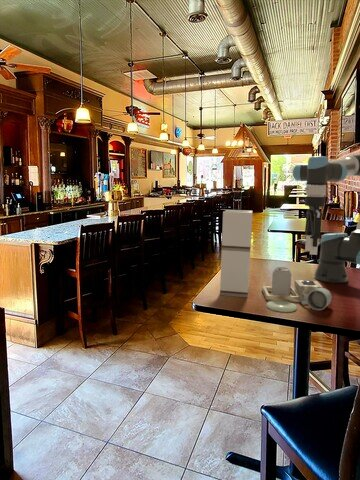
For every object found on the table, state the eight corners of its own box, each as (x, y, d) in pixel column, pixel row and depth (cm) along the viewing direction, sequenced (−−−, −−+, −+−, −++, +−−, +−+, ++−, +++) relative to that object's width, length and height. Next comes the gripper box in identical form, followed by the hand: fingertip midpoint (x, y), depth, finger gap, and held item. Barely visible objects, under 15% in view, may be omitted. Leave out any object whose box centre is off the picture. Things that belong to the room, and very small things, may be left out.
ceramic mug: (332, 306, 141) (333, 287, 140) (326, 312, 135) (328, 292, 134) (304, 301, 148) (305, 283, 146) (298, 306, 141) (299, 287, 140)
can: (275, 292, 158) (277, 265, 157) (292, 295, 154) (294, 268, 152) (268, 296, 153) (269, 268, 151) (285, 300, 148) (287, 271, 146)
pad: (293, 303, 145) (293, 301, 144) (299, 312, 134) (299, 310, 134) (265, 301, 146) (265, 299, 145) (269, 311, 135) (269, 309, 135)
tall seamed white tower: (248, 290, 161) (252, 210, 155) (247, 297, 151) (251, 212, 145) (222, 287, 163) (225, 209, 158) (219, 295, 153) (223, 211, 147)
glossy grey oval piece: (311, 291, 154) (312, 280, 153) (313, 294, 150) (314, 282, 149) (301, 291, 154) (302, 279, 153) (303, 294, 150) (304, 282, 149)
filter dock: (314, 292, 158) (315, 279, 158) (323, 303, 145) (324, 288, 144) (262, 290, 160) (262, 277, 160) (266, 300, 147) (267, 285, 146)
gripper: (299, 194, 156) (296, 247, 159) (312, 196, 136) (307, 257, 140) (318, 195, 155) (313, 248, 159) (332, 197, 135) (327, 258, 139)
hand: (310, 252), depth 149 cm, fingers open, 7 cm apart
